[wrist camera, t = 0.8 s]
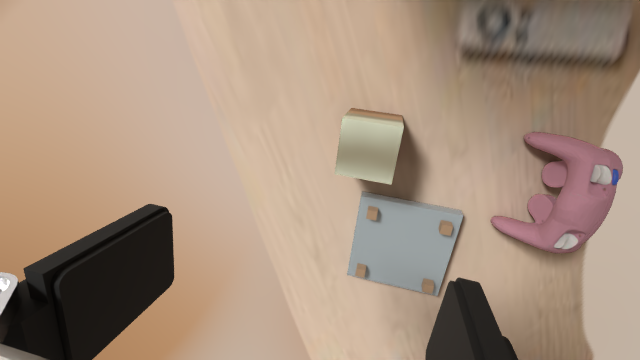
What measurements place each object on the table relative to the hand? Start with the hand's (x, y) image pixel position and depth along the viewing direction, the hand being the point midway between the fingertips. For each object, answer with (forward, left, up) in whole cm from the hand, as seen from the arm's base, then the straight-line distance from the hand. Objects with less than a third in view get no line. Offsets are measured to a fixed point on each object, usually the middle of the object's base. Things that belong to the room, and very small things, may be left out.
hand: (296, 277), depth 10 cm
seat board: (+11, +6, -22) cm, 26 cm away
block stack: (0, +1, -22) cm, 22 cm away
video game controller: (+2, +17, -23) cm, 28 cm away
